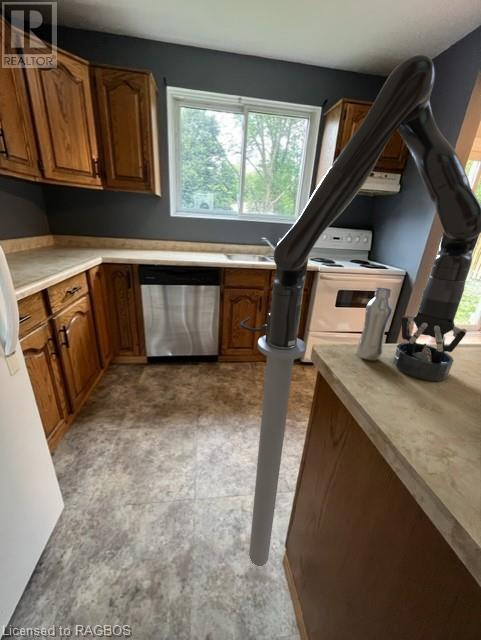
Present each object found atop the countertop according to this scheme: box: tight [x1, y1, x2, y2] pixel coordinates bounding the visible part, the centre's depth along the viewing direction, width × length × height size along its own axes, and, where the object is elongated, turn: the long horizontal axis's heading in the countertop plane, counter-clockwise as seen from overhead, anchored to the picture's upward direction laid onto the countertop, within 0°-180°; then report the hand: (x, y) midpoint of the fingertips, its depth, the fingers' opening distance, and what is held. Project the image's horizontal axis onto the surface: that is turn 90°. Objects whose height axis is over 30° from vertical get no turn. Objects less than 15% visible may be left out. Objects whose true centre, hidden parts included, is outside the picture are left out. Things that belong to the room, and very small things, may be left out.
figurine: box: [412, 343, 432, 363], centre depth 70 cm, size 5×4×6 cm
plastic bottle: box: [356, 287, 394, 361], centre depth 74 cm, size 6×7×20 cm
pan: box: [392, 342, 455, 382], centre depth 71 cm, size 12×12×5 cm
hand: (421, 359), depth 71 cm, fingers closed on figurine, 4 cm apart
